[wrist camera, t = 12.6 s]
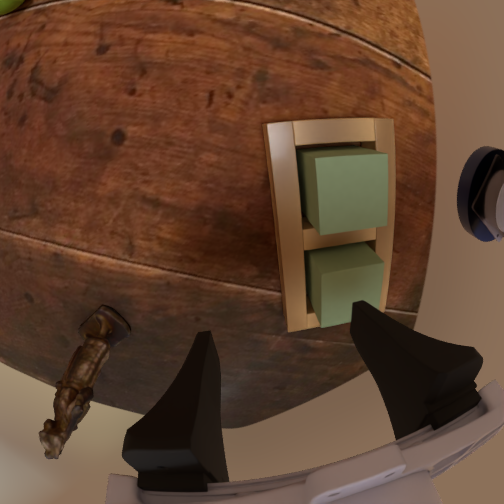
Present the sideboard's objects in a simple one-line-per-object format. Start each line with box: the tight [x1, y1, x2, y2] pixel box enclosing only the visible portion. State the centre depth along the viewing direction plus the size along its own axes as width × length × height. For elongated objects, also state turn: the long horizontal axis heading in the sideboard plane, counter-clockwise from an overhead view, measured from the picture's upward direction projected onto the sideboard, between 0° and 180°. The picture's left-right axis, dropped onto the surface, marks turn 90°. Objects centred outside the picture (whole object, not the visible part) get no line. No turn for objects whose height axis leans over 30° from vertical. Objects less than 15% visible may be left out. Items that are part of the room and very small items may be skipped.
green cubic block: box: [296, 145, 388, 235], centre depth 18 cm, size 5×5×5 cm
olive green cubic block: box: [304, 241, 384, 328], centre depth 21 cm, size 5×5×5 cm
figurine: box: [39, 306, 131, 459], centre depth 18 cm, size 7×4×15 cm, turn 127°
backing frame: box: [262, 118, 396, 332], centre depth 21 cm, size 9×16×2 cm, turn 8°
